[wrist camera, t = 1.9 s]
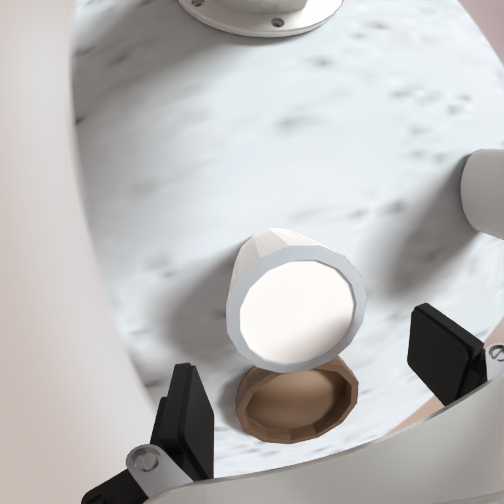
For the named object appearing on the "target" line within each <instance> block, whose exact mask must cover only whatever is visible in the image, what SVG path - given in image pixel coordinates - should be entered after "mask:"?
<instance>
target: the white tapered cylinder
mask: <svg viewBox="0 0 504 504" xmlns="http://www.w3.org/2000/svg"><path fill="white" fill-rule="evenodd" d="M366 302H367V297H366V293H365V288H364V284H363V280H362V276H361V274H360V273H359V272H358V271H357V270H356V268H355V267H354V266H353V265H352V264H351V263H350V261H349V260H348V259H347V258H346V257H345V256H344V255H342V254H340V253H338V252H336V251H334V250H331V249H329V248H327V247H325V246H323V245H321V244H319V243H317V242H315V241H313V240H311V239H309V238H307V237H305V236H302V235H300V234H298V233H296V232H293V231H291V230H289V229H286V228H268V229H266V230H263V231H261V232H259V233H256V234H254V235H252V236H251V237H250V238H249V239H248V240H247V241H246V242H245V243H244V244H243V245H242V246H241V248H240V251H239V253H238V255H237V258H236V260H235V264H234V269H233V274H232V278H231V283H230V288H229V293H228V298H227V303H226V325H227V334H228V335H229V337H230V339H231V341H232V343H233V344H234V346H235V348H236V350H237V352H238V353H239V354H240V355H241V356H243V357H244V358H245V359H247V360H248V361H250V362H251V363H252V364H254V365H255V366H257V367H258V368H262V369H266V370H270V371H274V372H278V373H291V372H301V371H308V370H310V369H313V368H315V367H317V366H320V365H322V364H324V363H327V362H329V361H331V360H332V359H333V358H334V357H336V356H337V355H338V354H339V353H340V352H341V351H343V350H344V349H345V348H346V347H347V346H348V345H349V344H350V343H351V341H352V340H353V338H354V336H355V335H356V333H357V331H358V330H359V328H360V326H361V325H362V323H363V318H364V313H365V307H366Z"/></svg>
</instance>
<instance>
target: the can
mask: <svg viewBox="0 0 504 504" xmlns="http://www.w3.org/2000/svg"><path fill="white" fill-rule="evenodd" d="M460 195H461V201H462V205H463V210H464V213H465V215H466V218H467V220H468V222H469V223H470V224H471V226H472V227H473V228H474V229H476V230H478V231H480V232H483V233H486V234H489V235H492V236H495V237H497V238H500V239H503V240H504V150H499V149H480V150H477V151H474V152H473V154H472V155H471V156H470V157H469V158H468V160H467V163H466V165H465V167H464V170H463V172H462V177H461V182H460Z"/></svg>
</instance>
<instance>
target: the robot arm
mask: <svg viewBox="0 0 504 504" xmlns="http://www.w3.org/2000/svg"><path fill="white" fill-rule="evenodd" d="M178 1H179V3H180V4H181V5H182V7H183V8H184V9H185V10H186V11H187V12H188V13H189V14H191V15H192V16H193V17H195V18H196V19H197V20H199V21H201V22H203V23H205V24H207V25H209V26H211V27H213V28H216V29H220V30H223V31H226V32H228V33H234V34H239V35H244V36H252V37H264V38H266V37H285V36H291V35H297V34H301V33H304V32H307V31H311V30H313V29H315V28H317V27H319V26H321V25H323V24H325V23H326V22H327V21H328V20H329V19H330V18H331V17H333V16H334V14H335V13H336V12H337V10H338V9H339V8H340V6H341V4H342V2H343V0H178ZM198 6H199V7H198ZM275 26H277V27H275ZM278 27H279V28H278ZM483 346H484V343H483V342H482V341H480V340H479V339H478V338H476V337H475V336H473V335H472V334H471V333H469V332H468V331H467V330H465V329H464V328H462V327H461V326H460V325H458V324H457V323H455V322H454V321H453V320H451V319H450V318H448V317H447V316H445V315H444V314H443V313H441V312H440V311H438V310H437V309H435V308H434V307H432V306H431V305H429V304H428V303H424V304H421V305H418V306H416V307H415V308H414V311H412V313H411V326H410V338H409V348H408V356H407V362H408V365H409V367H410V368H411V369H412V370H413V371H414V372H415V373H416V374H417V375H418V377H419V378H420V379H421V380H422V381H423V382H424V383H425V384H426V385H427V387H428V388H429V389H430V390H431V391H432V392H433V393H434V395H435V396H436V397H437V398H438V399H439V400H440V401H441V402H442V404H443V405H444V406H445V407H444V408H442V409H440V410H439V411H437V412H435V413H433V414H431V415H429V416H427V417H425V418H423V419H421V420H419V421H417V422H415V423H413V424H411V425H409V426H406V427H404V428H402V429H400V430H398V431H395V432H393V433H391V434H388V435H386V436H383V437H381V438H378V439H376V440H373V441H371V442H368V443H365V444H363V445H360V446H357V447H354V448H351V449H348V450H345V451H342V452H339V453H336V454H332V455H329V456H326V457H322V458H319V459H315V460H311V461H307V462H303V463H299V464H295V465H290V466H286V467H281V468H276V469H271V470H266V471H260V472H254V473H248V474H242V475H234V476H228V477H221V478H214V413H213V410H212V407H211V405H210V402H209V400H208V397H207V395H206V392H205V390H204V387H203V385H202V382H201V379H200V377H199V374H198V371H197V369H196V366H195V365H194V366H191V364H190V363H182V364H176V365H175V367H174V371H173V375H172V379H171V383H170V387H169V392H168V396H167V397H162V398H161V400H160V403H159V407H158V411H157V415H156V419H155V423H154V427H153V431H152V436H151V440H150V444H146V445H140V446H138V447H136V448H134V449H133V450H131V451H130V453H129V454H128V455H127V458H126V466H127V469H126V470H124V471H122V472H121V473H119V474H118V475H116V476H114V477H112V478H111V479H109V480H108V481H106V482H104V483H102V484H101V485H99V486H97V487H95V488H93V489H92V490H90V491H89V492H87V493H86V494H85V495H84V497H83V498H82V501H81V504H504V343H493V344H491V345H489V346H488V347H487V348H486V350H485V349H483Z"/></svg>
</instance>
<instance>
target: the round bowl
mask: <svg viewBox="0 0 504 504" xmlns="http://www.w3.org/2000/svg"><path fill="white" fill-rule="evenodd" d="M357 398H358V381H357V379H356V377H355V375H354V374H353V372H352V371H351V370H350V369H349V368H348V367H347V365H346V364H345V362H344V361H343V360H342V359H341V358H340V357H339V356H336V357H334V358H333V359H332V360H331V361H329V362H327V363H324V364H322V365H320V366H317V367H315V368H313V369H310V370H308V371H301V372H291V373H278V372H274V371H270V370H266V369H262V368H258V367H257V366H254V367H253V368H252V369H251V370H250V371H249V372H248V373H247V374H246V375H245V377H244V378H243V380H242V381H241V383H240V386H239V388H238V394H237V397H236V412H237V415H238V417H239V420H240V423H241V426H242V428H243V431H245V432H247V433H249V434H250V435H252V436H254V437H255V438H257V439H259V440H261V441H263V442H270V443H281V444H293V443H297V442H302V441H306V440H310V439H314V438H317V437H320V436H321V435H323V434H325V433H326V432H328V431H330V430H331V429H333V428H335V427H336V426H338V425H339V424H341V423H342V422H343V421H344V420H345V418H346V417H347V416H348V414H349V413H350V412H351V410H352V409H353V408H354V406H355V405H356V404H357Z"/></svg>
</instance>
